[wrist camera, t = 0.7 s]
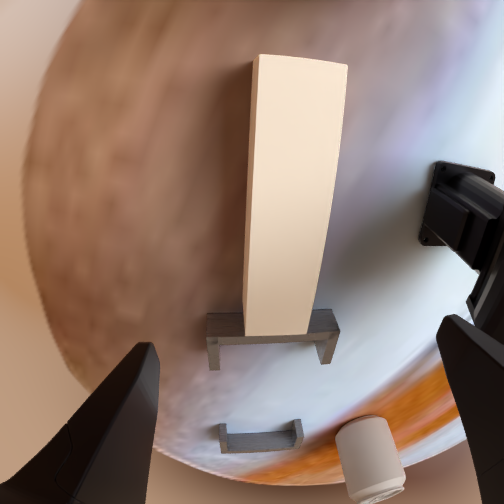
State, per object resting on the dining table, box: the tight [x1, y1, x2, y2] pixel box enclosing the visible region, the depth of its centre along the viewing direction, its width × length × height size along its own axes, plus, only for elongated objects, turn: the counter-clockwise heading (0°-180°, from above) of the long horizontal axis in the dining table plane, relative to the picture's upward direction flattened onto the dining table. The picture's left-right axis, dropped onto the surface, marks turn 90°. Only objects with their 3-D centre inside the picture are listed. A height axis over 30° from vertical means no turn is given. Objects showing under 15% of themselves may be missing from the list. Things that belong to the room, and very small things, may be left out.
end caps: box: [206, 309, 340, 454], centre depth 28 cm, size 10×22×2 cm, turn 179°
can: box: [335, 415, 406, 504], centre depth 31 cm, size 8×8×12 cm
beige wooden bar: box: [242, 54, 348, 336], centre depth 17 cm, size 4×16×4 cm, turn 177°
